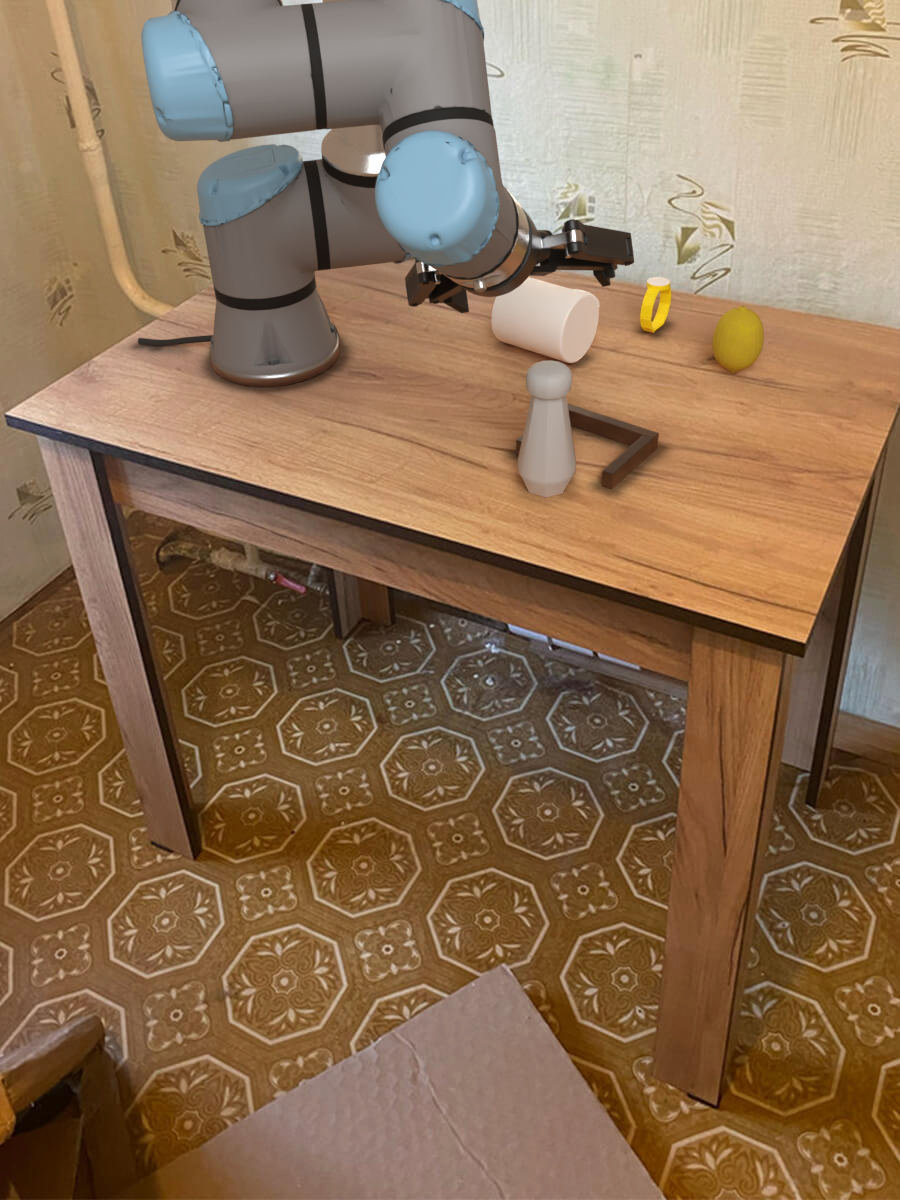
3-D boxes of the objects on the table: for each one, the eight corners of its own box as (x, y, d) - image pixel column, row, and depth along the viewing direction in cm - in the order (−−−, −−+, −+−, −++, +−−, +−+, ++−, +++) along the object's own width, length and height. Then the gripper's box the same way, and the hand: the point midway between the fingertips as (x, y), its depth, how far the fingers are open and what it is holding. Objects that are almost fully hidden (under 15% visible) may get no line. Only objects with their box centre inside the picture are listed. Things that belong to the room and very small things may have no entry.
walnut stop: (515, 454, 114) (516, 439, 113) (564, 416, 120) (564, 402, 118) (611, 489, 108) (612, 474, 107) (657, 447, 114) (659, 432, 113)
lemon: (737, 389, 123) (746, 322, 117) (698, 372, 126) (706, 306, 121) (768, 372, 125) (779, 306, 120) (730, 356, 129) (738, 291, 123)
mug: (560, 374, 127) (562, 309, 122) (490, 351, 132) (489, 288, 127) (616, 335, 134) (620, 272, 129) (548, 314, 139) (549, 253, 134)
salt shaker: (504, 486, 110) (504, 368, 101) (543, 463, 113) (545, 346, 104) (549, 509, 106) (552, 388, 98) (587, 484, 109) (593, 365, 101)
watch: (653, 340, 132) (658, 293, 129) (632, 335, 134) (636, 288, 130) (674, 320, 136) (679, 274, 132) (653, 316, 137) (657, 270, 134)
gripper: (335, 318, 87) (412, 347, 108) (653, 257, 81) (671, 301, 101) (321, 222, 87) (401, 270, 107) (641, 152, 80) (661, 217, 100)
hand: (533, 285), depth 104 cm, fingers open, 13 cm apart
